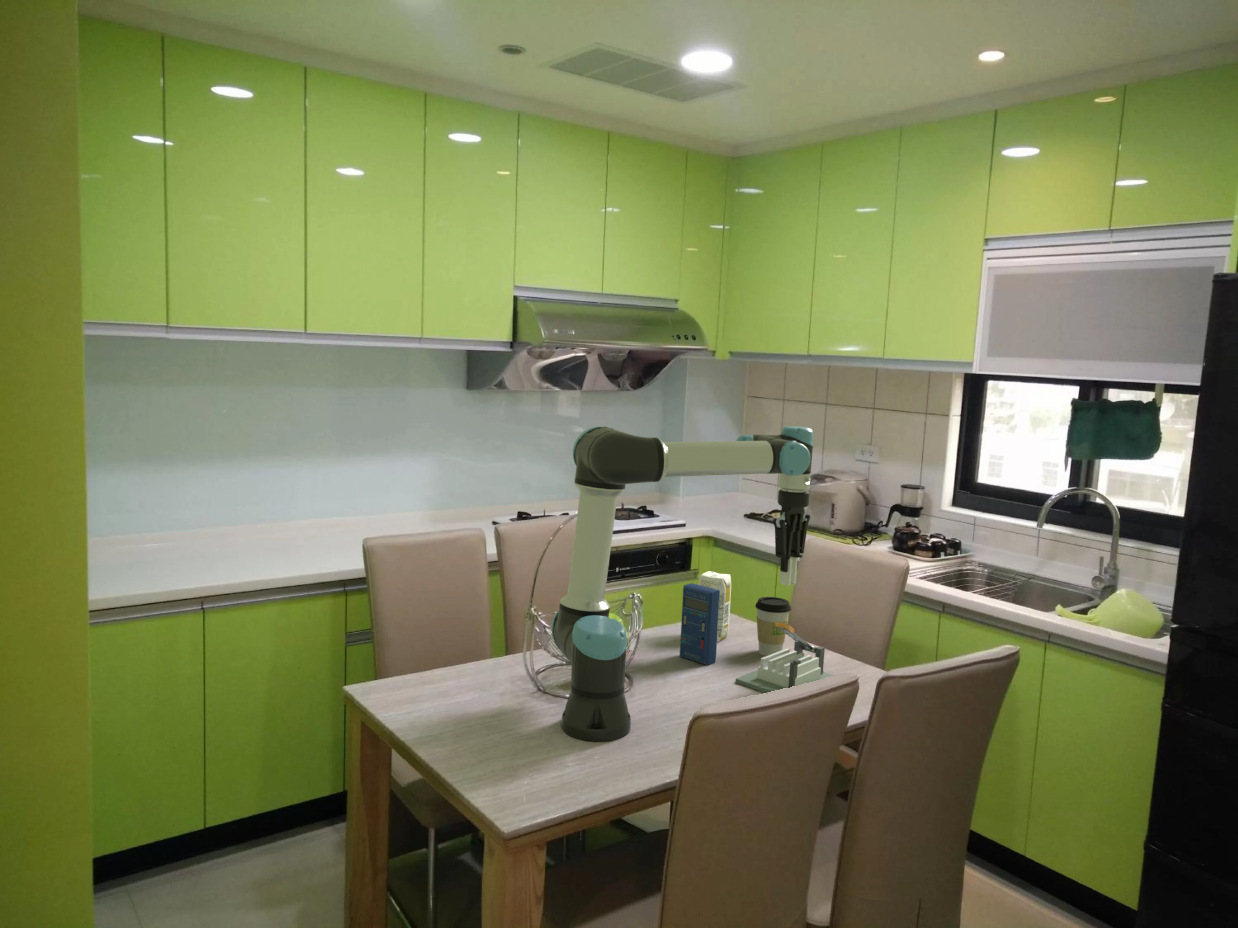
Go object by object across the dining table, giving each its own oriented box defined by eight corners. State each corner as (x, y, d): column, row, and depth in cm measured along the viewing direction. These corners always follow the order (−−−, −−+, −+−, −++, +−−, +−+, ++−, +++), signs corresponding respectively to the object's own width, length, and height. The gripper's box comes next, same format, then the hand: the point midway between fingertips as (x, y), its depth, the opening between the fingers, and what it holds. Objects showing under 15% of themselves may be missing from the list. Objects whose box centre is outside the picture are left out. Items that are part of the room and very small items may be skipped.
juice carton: (719, 643, 257) (723, 579, 254) (692, 638, 261) (696, 574, 259) (730, 637, 263) (734, 574, 261) (703, 631, 267) (707, 569, 265)
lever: (787, 631, 221) (789, 625, 222) (773, 627, 224) (776, 621, 225) (816, 654, 233) (818, 648, 234) (802, 650, 236) (805, 644, 236)
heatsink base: (796, 703, 215) (798, 668, 214) (735, 682, 227) (737, 648, 226) (843, 681, 231) (845, 648, 230) (783, 662, 243) (785, 631, 242)
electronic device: (677, 657, 244) (681, 585, 242) (689, 652, 248) (693, 582, 245) (706, 666, 238) (710, 592, 235) (717, 661, 242) (721, 589, 239)
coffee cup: (790, 659, 246) (794, 606, 244) (755, 658, 246) (758, 605, 244) (784, 648, 255) (788, 596, 254) (750, 646, 256) (753, 595, 254)
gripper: (790, 494, 212) (784, 591, 215) (823, 489, 223) (816, 581, 226) (764, 490, 217) (758, 585, 220) (797, 485, 228) (791, 575, 231)
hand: (787, 583), depth 223 cm, fingers open, 2 cm apart
